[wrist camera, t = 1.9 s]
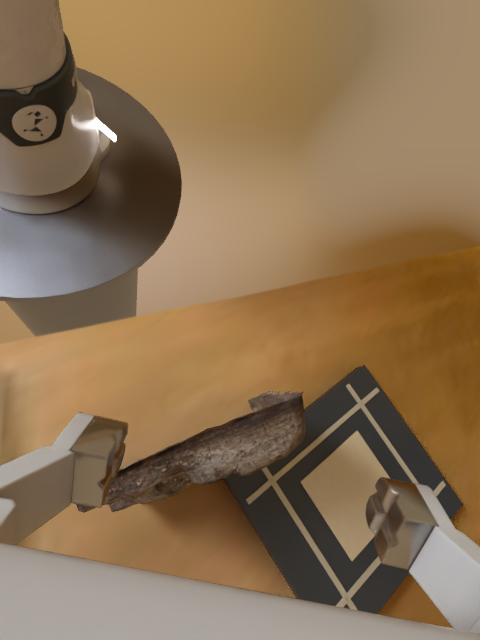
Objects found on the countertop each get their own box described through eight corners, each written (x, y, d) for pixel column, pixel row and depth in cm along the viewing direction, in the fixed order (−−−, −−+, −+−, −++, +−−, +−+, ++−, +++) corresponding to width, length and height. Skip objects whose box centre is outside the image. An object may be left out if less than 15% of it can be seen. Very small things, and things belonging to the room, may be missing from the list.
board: (221, 475, 34) (225, 476, 32) (357, 367, 42) (365, 364, 40) (330, 653, 31) (340, 663, 30) (451, 502, 40) (464, 504, 38)
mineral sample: (252, 397, 37) (324, 369, 23) (267, 434, 36) (351, 428, 23) (85, 465, 31) (48, 483, 17) (98, 512, 30) (70, 570, 16)
